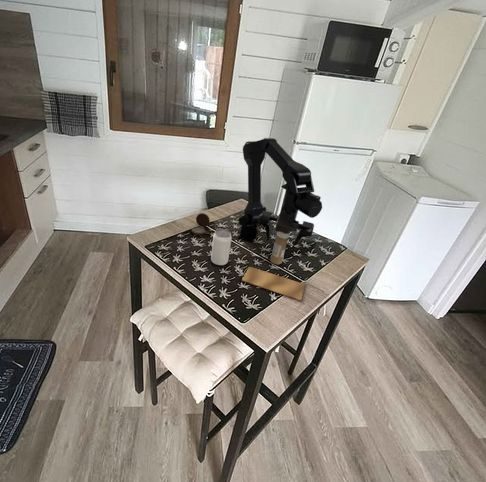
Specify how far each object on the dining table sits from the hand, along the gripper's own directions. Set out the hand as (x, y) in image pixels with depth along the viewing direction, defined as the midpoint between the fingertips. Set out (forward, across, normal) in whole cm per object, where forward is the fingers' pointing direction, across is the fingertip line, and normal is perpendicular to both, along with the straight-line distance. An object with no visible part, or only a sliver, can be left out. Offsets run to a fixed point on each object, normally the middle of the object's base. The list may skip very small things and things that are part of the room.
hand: (280, 243), depth 103 cm
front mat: (+8, +2, -14) cm, 16 cm away
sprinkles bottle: (+8, 0, 0) cm, 8 cm away
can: (+8, -19, -11) cm, 23 cm away
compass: (+8, -34, +5) cm, 35 cm away
